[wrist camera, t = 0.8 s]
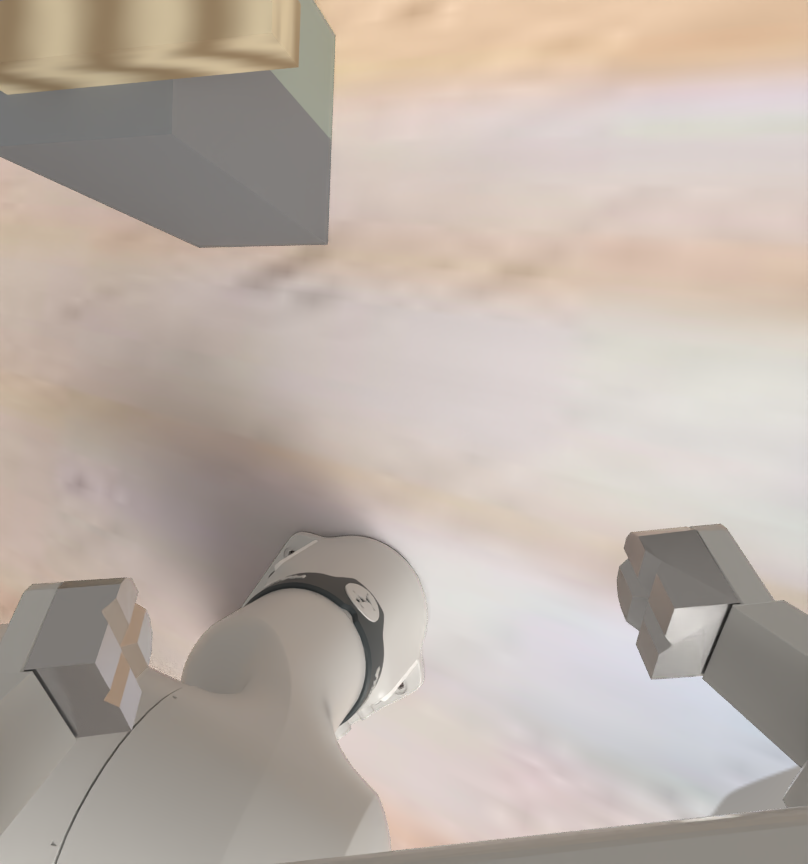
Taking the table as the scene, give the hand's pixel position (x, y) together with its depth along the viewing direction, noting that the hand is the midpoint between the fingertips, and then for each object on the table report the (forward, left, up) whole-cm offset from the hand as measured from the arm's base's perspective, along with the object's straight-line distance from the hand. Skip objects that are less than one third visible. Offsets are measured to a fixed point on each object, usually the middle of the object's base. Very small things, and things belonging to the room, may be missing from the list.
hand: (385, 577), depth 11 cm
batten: (0, +33, -25) cm, 41 cm away
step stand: (0, +40, -51) cm, 65 cm away
